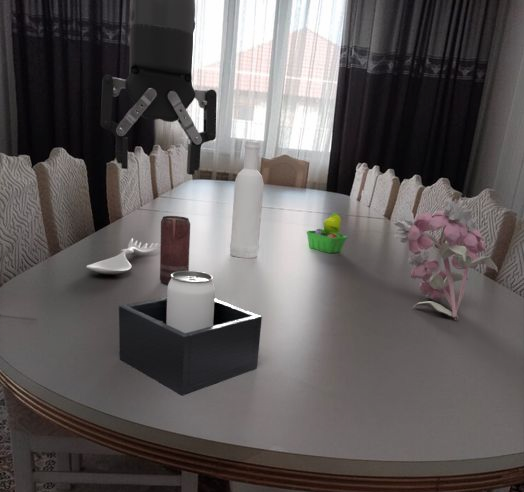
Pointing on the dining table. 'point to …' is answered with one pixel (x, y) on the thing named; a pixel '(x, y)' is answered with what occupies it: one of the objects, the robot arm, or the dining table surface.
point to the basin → (188, 345)
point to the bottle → (247, 205)
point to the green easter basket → (327, 236)
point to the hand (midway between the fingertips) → (157, 171)
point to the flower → (443, 251)
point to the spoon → (121, 259)
